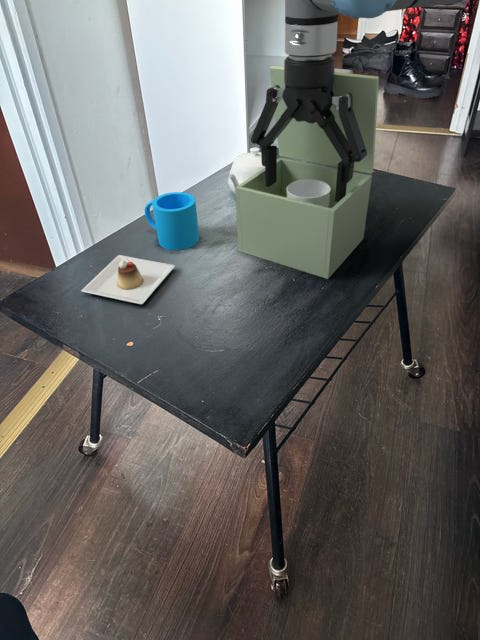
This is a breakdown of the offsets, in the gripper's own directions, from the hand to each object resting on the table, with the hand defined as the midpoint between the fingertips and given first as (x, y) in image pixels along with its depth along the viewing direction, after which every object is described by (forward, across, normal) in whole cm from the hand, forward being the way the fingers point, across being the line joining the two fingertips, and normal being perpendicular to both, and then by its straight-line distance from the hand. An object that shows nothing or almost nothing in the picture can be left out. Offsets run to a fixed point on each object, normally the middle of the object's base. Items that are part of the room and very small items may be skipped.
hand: (304, 191), depth 84 cm
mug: (+11, -24, -10) cm, 28 cm away
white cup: (+10, 0, +2) cm, 11 cm away
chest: (+11, 0, 0) cm, 11 cm away
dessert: (+11, -20, -26) cm, 35 cm away
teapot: (+11, -20, +15) cm, 28 cm away
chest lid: (-10, 0, +6) cm, 12 cm away
